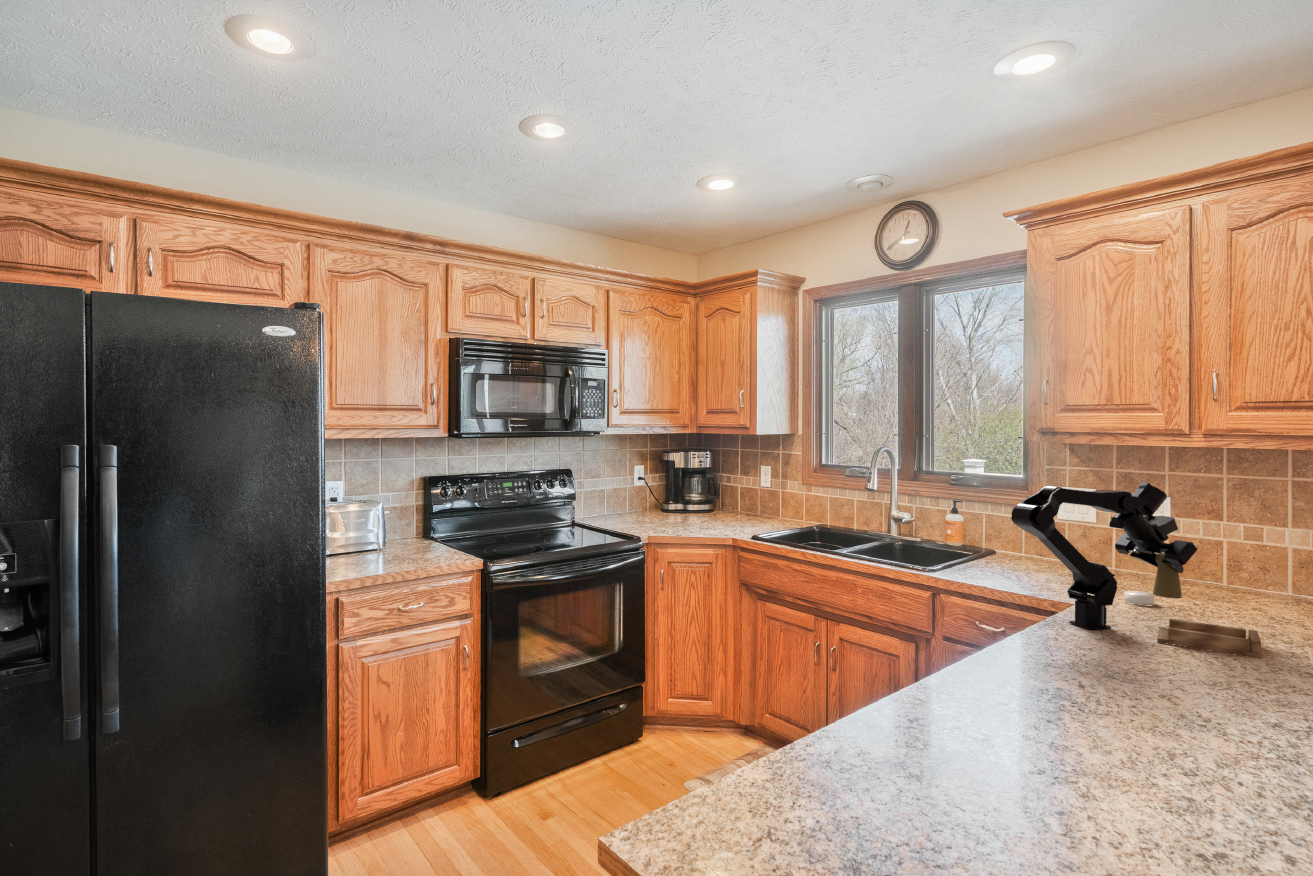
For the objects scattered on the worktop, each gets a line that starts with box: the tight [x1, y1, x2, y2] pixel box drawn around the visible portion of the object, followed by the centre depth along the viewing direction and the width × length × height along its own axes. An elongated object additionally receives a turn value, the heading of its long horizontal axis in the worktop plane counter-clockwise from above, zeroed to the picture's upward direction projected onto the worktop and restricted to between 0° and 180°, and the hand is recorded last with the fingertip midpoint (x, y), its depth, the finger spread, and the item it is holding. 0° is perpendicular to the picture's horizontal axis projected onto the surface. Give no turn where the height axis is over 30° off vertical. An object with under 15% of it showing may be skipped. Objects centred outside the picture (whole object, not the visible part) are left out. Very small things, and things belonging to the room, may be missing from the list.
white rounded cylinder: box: [1123, 590, 1155, 605], centre depth 193 cm, size 7×7×3 cm
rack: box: [1156, 618, 1262, 660], centre depth 155 cm, size 18×12×4 cm, turn 52°
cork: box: [1152, 552, 1183, 599], centre depth 174 cm, size 6×6×11 cm
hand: (1172, 570), depth 174 cm, fingers closed on cork, 5 cm apart
